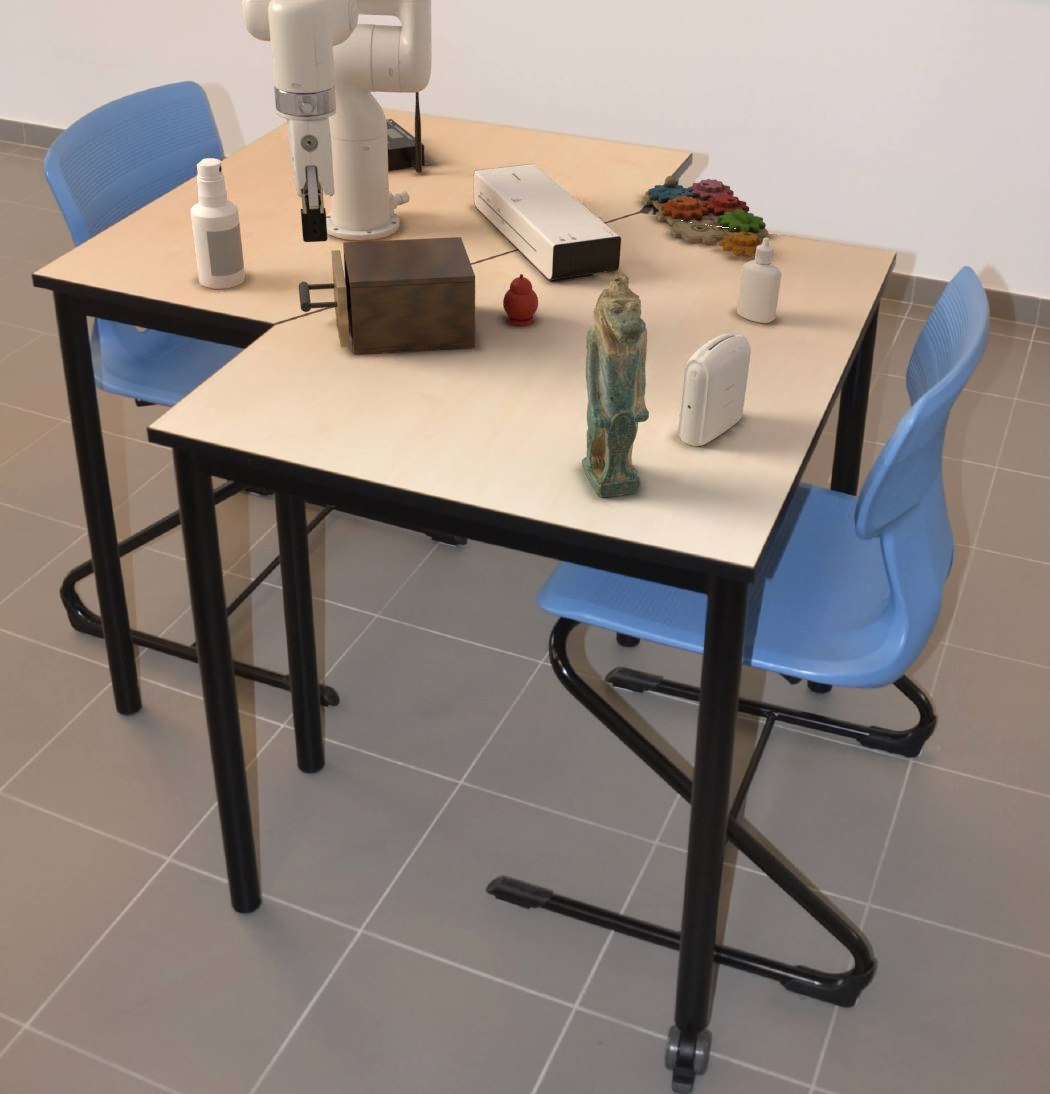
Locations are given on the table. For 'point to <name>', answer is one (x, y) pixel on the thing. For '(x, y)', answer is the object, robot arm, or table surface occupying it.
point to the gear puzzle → (707, 215)
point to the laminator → (545, 222)
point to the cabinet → (409, 295)
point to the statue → (615, 389)
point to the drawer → (339, 297)
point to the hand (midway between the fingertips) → (315, 239)
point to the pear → (520, 302)
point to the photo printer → (714, 389)
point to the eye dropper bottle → (759, 286)
